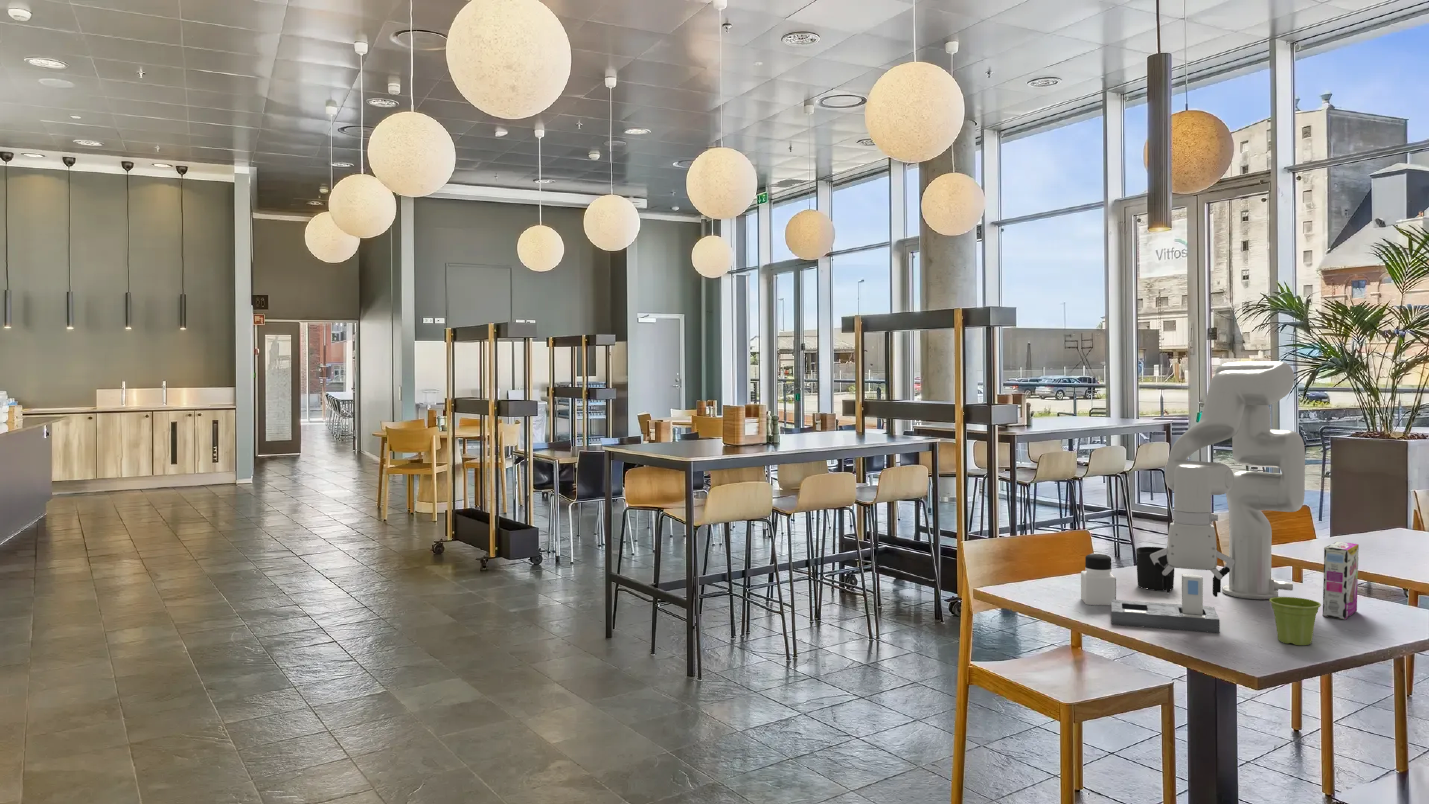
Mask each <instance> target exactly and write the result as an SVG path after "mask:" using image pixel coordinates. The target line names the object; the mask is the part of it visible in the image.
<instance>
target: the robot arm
mask: <svg viewBox="0 0 1429 804" xmlns="http://www.w3.org/2000/svg"><path fill="white" fill-rule="evenodd" d="M1215 369H1216V370H1215V373H1214V376H1212V378H1211V380H1210V383H1209V386H1208V391H1207V393H1206V397H1205V400H1204V404H1203V409H1202V412H1201V414H1200V415H1201V416H1200V419H1199V420H1198V422H1197V423H1195V425H1192V426H1191V427H1190V428H1189V429H1187V430H1186V431H1185V432H1184V433H1183V434H1182V435H1180V437H1178V438H1177V440H1175V442H1174V443H1173V445H1172V447H1171V449H1170V452H1169V455H1168V457H1167V458H1168V459H1167V463H1166V466H1165V472H1164V481H1165V484H1166V486H1167V488H1168V489H1170V490H1171V491H1173V492H1174V493H1173V495H1174V496H1173V522H1170V523H1169V526H1168V532H1167V542H1166V544H1167V545H1166V548H1165V547H1164V548H1165V549H1162V550H1160V551H1157V552H1155V553H1152V554H1150V558H1151V560H1152V561H1153V563H1154V565H1155V567H1156V568H1157V569H1158V570H1159V571H1160V572H1161V573H1162V574H1163V588H1164V589H1166V591H1165V592H1166V594H1170V593H1171V590H1170V574H1169V573H1170V572H1171V571H1172V570H1173V569H1174V570H1175V569H1181V570H1182V569H1183V570H1184V569H1185V570H1196V571H1197V570H1198V571H1210V572H1211V573H1212V574H1213V577H1212V595H1213V597H1215V598H1218V593H1221V591H1222V593H1224V594H1225V595H1228V596H1232V597H1235V598H1239V599H1247V600H1249V599H1250V600H1269V599H1270V598H1274V597H1279V590H1282V591H1283V590H1284V591H1293V590H1294V585H1293V582H1286V581H1282V580H1281V581H1278V580H1275V579H1274V578H1273V577H1272V541H1273V540H1272V539H1273V538H1272V535H1273V533H1272V532H1273V530H1272V526H1271V523H1270V521H1269V519H1268V518H1267V517H1266V515H1265V514H1264V513H1263V512H1262V511H1272V512H1273V511H1274V512H1285V513H1295V512H1297V511H1299V510H1301V508H1302V507H1303V505H1304V502H1305V491H1306V490H1305V488H1306V485H1305V484H1306V482H1305V481H1306V449H1305V443H1304V440H1303V438H1302V436H1301V435H1300V433H1298V432H1296V431H1294V430H1289V429H1288V430H1287V429H1273V428H1272V427H1271V426H1272V425H1271V409H1270V406H1271V405H1274V404H1277V402H1279V401H1281V400H1282V399H1284V398H1285V397H1286V396H1287V395H1289V393H1290V392H1291V391H1292V389H1293V387H1294V385H1295V374H1294V370H1293V367H1291V365H1290V364H1289V363H1287V362H1283V361H1233V362H1225V363H1223V364H1220V365H1219V366H1217V368H1215ZM1231 438H1232V439H1231ZM1228 439H1229V440H1230V439H1231V440H1232V441H1231V442H1232V443H1231V444H1232V447H1231V449H1232V457H1233V460H1234V461H1235V462H1236V464H1239V465H1242V466H1250V467H1259V468H1260V467H1261V468H1264V467H1265V468H1275V469H1280V472H1281V473H1279V472H1267V471H1251V470H1250V471H1249V470H1243V471H1240V470H1239V471H1236V472H1233V470H1232V468H1231V467H1230V466H1228V465H1226V464H1225V463H1222V462H1212V461H1202V460H1201V461H1200V460H1199V461H1198V460H1189V458H1190V457H1191V456H1192V455H1193V454H1194V453H1196V452H1197V451H1199V450H1201V449H1203V448H1205V447H1208V446H1211V445H1214V444H1217V443H1221V442H1223V441H1226V440H1228ZM1222 495H1225V496H1226V502H1227V507H1228V508H1227V509H1228V526H1229V527H1228V532H1229V533H1228V534H1229V535H1228V536H1229V537H1228V540H1229V542H1228V555H1226V554H1224V553H1222V552H1220V551H1219V550H1218V549H1217V546H1218V545H1217V536H1216V529H1215V526H1214V525H1213V524H1212V523H1213V522H1215V521H1216V522H1218V521H1219V515H1218V514H1213V513H1212V496H1222ZM1164 555H1167V562H1168V564H1167V565H1166V566H1165V567H1163V566H1162V565H1161V564H1160V563H1159V561H1158V558H1159V557H1162V556H1164ZM1218 559H1220V560H1221V561H1224V562H1225V565H1224V566H1223V567H1222V568H1220V569H1218V568H1217V566H1218ZM1226 575H1228V584H1226V585H1223V586H1221V583H1222V581H1221V580H1222V579H1223V578H1224V577H1225V576H1226Z"/></svg>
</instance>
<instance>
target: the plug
mask: <svg viewBox="0 0 1429 804" xmlns="http://www.w3.org/2000/svg"><path fill="white" fill-rule="evenodd" d="M1203 585H1204V578H1203V576H1202V575H1199V574H1186V573H1185V574H1181V604H1182V613H1185V614H1198V615H1203V606H1204V603H1203V601H1204V592H1203V591H1204V588H1203V587H1204V586H1203Z"/></svg>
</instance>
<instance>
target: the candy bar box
mask: <svg viewBox="0 0 1429 804" xmlns="http://www.w3.org/2000/svg"><path fill="white" fill-rule="evenodd" d="M1359 546H1360V545H1359V544H1358V543H1353V542H1345V541H1344V542H1343V541H1335V542H1334V543H1331V544H1329V545H1327V546H1324V548H1323V551H1324V552H1323V586H1322V588H1323V591H1322V594H1323V595H1322V617H1325V618H1330V619H1336V620H1337V619H1338V620H1347V619H1349V617H1351V616H1352V615H1353V614H1355V613H1356V612H1357V610H1358V584H1359V583H1358V581H1359V580H1358V579H1359V577H1358V575H1359V549H1360V548H1359Z"/></svg>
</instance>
